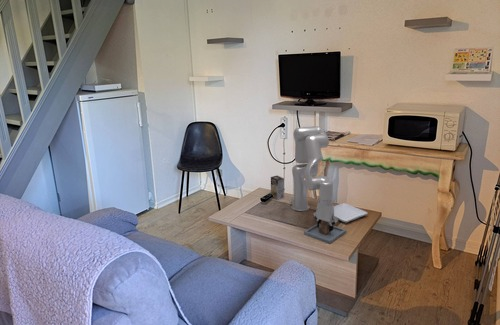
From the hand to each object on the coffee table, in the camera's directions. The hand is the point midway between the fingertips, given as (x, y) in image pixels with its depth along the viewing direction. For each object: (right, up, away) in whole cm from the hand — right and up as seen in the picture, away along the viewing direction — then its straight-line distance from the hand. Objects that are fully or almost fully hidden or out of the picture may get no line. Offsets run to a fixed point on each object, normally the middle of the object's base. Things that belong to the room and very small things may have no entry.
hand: (325, 228), depth 214 cm
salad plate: (+18, +4, +24) cm, 30 cm away
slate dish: (0, -3, +1) cm, 3 cm away
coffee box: (-24, +13, +59) cm, 65 cm away
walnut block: (0, -2, +1) cm, 2 cm away
